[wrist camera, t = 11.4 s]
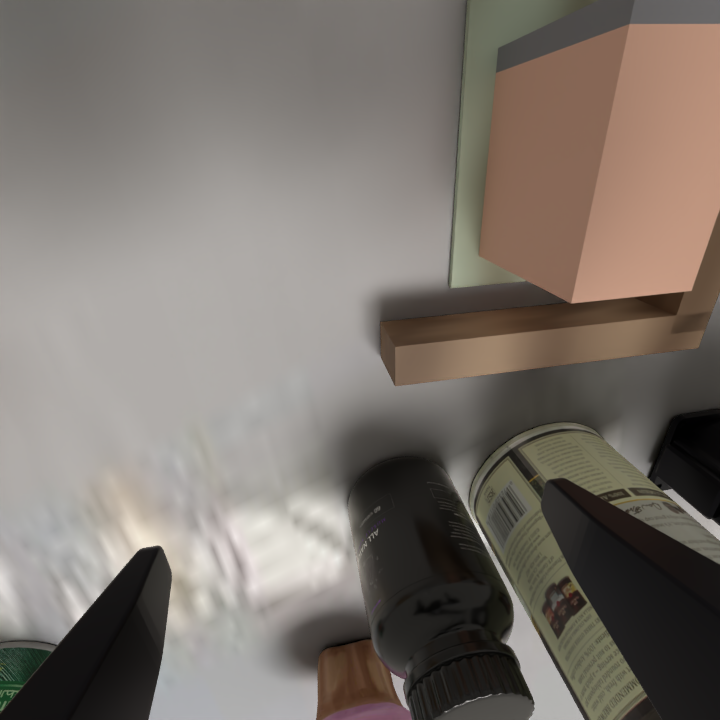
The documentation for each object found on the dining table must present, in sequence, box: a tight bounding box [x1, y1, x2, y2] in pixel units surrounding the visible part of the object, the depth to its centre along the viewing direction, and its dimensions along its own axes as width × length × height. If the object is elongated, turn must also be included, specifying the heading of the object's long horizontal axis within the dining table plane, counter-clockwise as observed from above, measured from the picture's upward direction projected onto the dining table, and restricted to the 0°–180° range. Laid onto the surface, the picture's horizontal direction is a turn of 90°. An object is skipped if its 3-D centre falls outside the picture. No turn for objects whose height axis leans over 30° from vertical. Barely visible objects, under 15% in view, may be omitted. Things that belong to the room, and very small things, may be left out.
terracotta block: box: [479, 0, 720, 304], centre depth 15 cm, size 8×4×7 cm, turn 2°
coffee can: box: [469, 422, 720, 720], centre depth 22 cm, size 10×10×14 cm
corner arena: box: [380, 0, 720, 386], centre depth 17 cm, size 16×17×3 cm
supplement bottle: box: [348, 457, 535, 720], centre depth 21 cm, size 7×7×12 cm
